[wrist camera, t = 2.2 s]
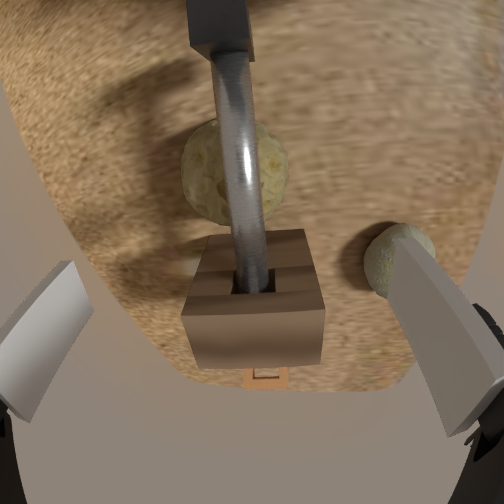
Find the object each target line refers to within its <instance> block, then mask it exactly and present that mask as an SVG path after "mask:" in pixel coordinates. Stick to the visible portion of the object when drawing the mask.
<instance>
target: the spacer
mask: <svg viewBox="0 0 504 504" xmlns="http://www.w3.org/2000/svg"><path fill="white" fill-rule="evenodd" d="M272 388H288V367H279V376H275V377H255V375H254V368H250V369H244V389H272Z"/></svg>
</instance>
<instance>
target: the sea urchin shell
mask: <svg viewBox="0 0 504 504" xmlns="http://www.w3.org/2000/svg"><path fill="white" fill-rule="evenodd" d="M400 238H415V239H416V240H417V241H418V242H419V243H420V244H421V245H422V246H423V247H424V248H425V249H426V251H427V252H428V253H429V254H430V255H431V256H432V257H433V258H434V259H435V257H436V256H435V248H434V245H433V243H432V241H431V240H430V238H429V236H428V235H427V234H425V233H424V232H422V231H421V230H420V229H419V228H417V227H416V226H413V225H409V224H406V223H398V224H395V225H393V226H391V227H389V228H388V229H386V230H384V231H383V232H382V233H381V234H380V235H379V236H378V237H376V238H375V239H373V241H372V242H371V244H370V245H369V247H368V248H367V250H366V251H365V255H364V259H363V260H364V272H365V273H364V274H365V275H366V277H367V280H368V283H369V285H370V286H371V287H372V288H373V290H374V291H375V292H376V294H377V295H379V296H382V297H384V298H386V299H387V295H388V290H389V285H390V280H391V275H392V269H393V264H394V258H395V251H396V245H397V239H400Z"/></svg>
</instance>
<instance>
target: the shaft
mask: <svg viewBox="0 0 504 504" xmlns="http://www.w3.org/2000/svg"><path fill="white" fill-rule="evenodd" d="M186 5H187V17H188V28H189V39H190V47H192V48H193V49H194V50H196V51H197V52H198V53H200V54H201V55H202V56H204V57H205V58H206V59H207V60H209V61H210V63H211V73H212V82H213V91H214V99H215V108H216V117H217V125H218V134H219V142H220V150H221V158H222V166H223V174H224V182H225V189H226V197H227V205H228V212H229V219H230V227H231V234H232V241H233V248H234V256H235V263H236V270H237V277H238V283H239V290H240V294H253V293H270V288H269V275H268V262H267V249H266V237H265V225H264V213H263V201H262V189H261V178H260V167H259V156H258V145H257V134H256V124H255V114H254V104H253V94H252V84H251V74H250V65H249V62H255V58H254V48H253V39H252V31H251V24H250V18H249V13H248V7H247V2H246V0H186Z"/></svg>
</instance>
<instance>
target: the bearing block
mask: <svg viewBox="0 0 504 504" xmlns="http://www.w3.org/2000/svg"><path fill="white" fill-rule="evenodd" d="M265 237H266V249H267V262H268V275H269V288H270V293H253V294H240V290H239V283H238V277H237V270H236V263H235V256H234V248H233V241H232V234H220V235H210V237H209V240H208V242H207V245H206V248H205V250H204V253H203V255H202V258H201V261H200V263H199V266H198V269H197V272H196V274H195V277H194V280H193V282H192V285H191V288H190V291H189V293H188V296H187V299H186V302H185V305H184V308H183V310H182V313H181V318H182V322H183V325H184V328H185V331H186V334H187V337H188V340H189V343H190V345H191V348H192V351H193V354H194V357H195V360H196V362H197V365H198V368H204V369H250V368H277V367H294V366H307V365H319V364H320V360H321V351H322V342H323V332H324V321H325V305H324V301H323V297H322V294H321V290H320V286H319V282H318V278H317V274H316V271H315V267H314V263H313V260H312V256H311V253H310V249H309V246H308V242H307V239H306V235H305V232H304V229H295V230H279V231H265Z"/></svg>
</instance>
